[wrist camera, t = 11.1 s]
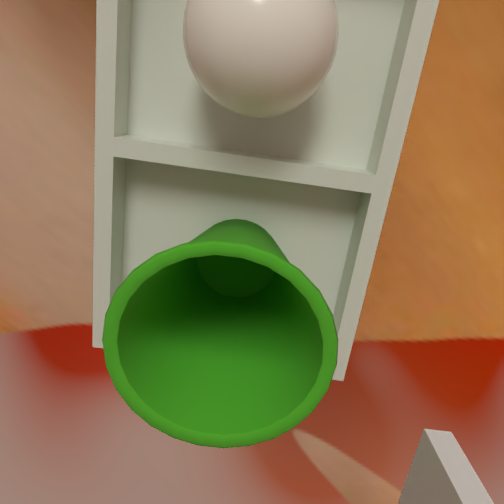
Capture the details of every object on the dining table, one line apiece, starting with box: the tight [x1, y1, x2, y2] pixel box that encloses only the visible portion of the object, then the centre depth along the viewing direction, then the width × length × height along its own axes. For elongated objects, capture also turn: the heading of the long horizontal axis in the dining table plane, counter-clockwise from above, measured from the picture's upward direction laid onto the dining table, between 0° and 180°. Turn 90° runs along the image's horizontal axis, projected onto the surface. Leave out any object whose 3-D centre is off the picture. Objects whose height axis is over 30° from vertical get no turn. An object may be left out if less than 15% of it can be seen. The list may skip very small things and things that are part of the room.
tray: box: [93, 0, 439, 381], centre depth 23 cm, size 16×25×3 cm, turn 172°
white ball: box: [183, 0, 339, 118], centre depth 19 cm, size 7×7×7 cm
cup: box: [102, 219, 338, 448], centre depth 21 cm, size 9×9×11 cm
